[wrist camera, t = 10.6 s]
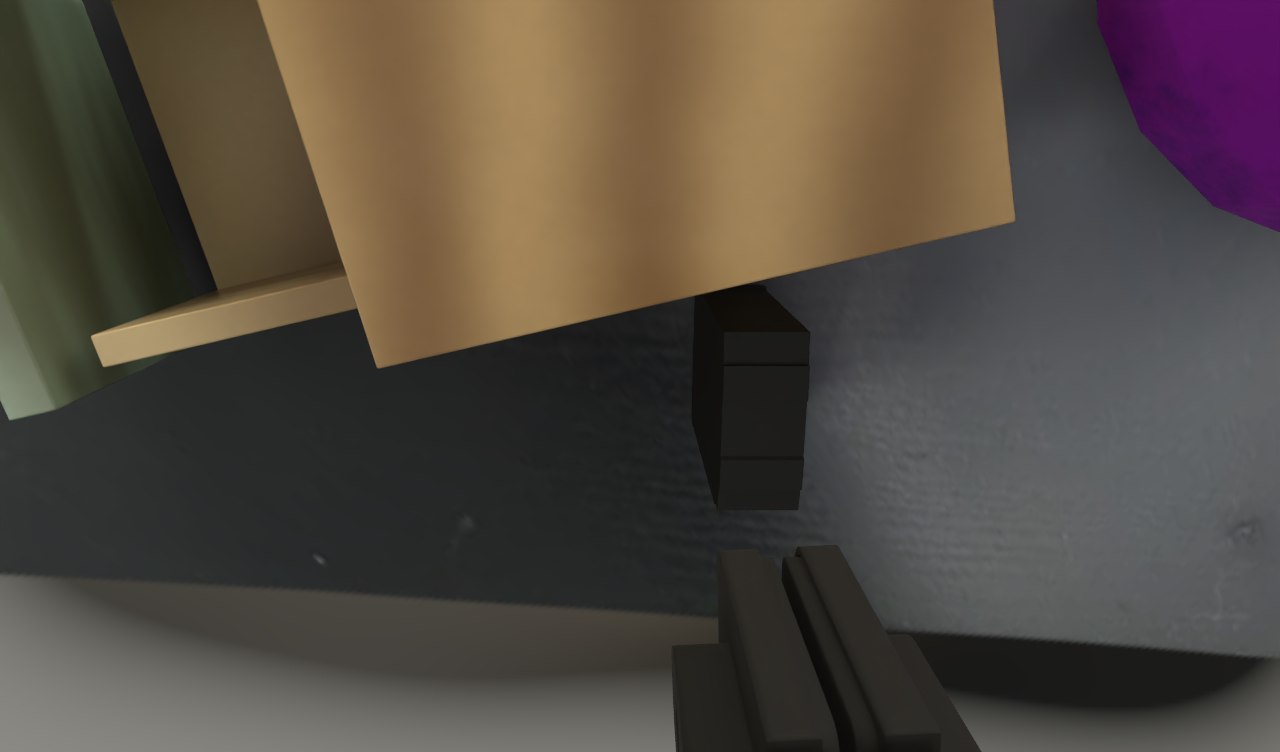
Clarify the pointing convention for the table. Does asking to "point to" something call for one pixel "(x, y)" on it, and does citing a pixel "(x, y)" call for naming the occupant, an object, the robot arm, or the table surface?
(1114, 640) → the table surface
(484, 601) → the table surface
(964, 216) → the cabinet
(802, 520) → the table surface
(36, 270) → the drawer
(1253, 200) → the decorative plant
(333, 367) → the table surface
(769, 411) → the ink cartridge
